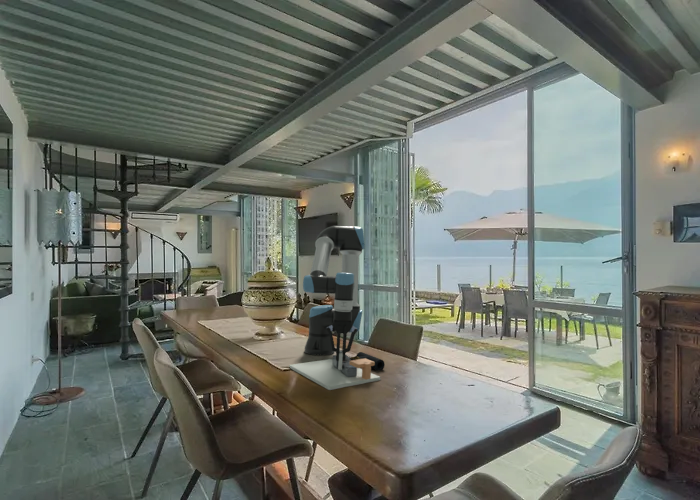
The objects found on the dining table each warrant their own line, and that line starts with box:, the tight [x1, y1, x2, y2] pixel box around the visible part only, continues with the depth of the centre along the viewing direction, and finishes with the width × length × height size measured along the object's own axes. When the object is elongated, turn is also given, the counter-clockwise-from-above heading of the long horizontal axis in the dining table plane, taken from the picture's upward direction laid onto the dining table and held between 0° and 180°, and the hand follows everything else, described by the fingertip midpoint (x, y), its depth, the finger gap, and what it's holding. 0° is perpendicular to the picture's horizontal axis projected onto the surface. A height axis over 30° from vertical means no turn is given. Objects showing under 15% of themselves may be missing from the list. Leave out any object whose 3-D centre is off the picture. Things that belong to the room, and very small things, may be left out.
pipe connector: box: [350, 351, 385, 372], centre depth 170 cm, size 12×5×15 cm
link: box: [332, 354, 357, 377], centre depth 158 cm, size 18×6×4 cm, turn 18°
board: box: [288, 358, 381, 391], centre depth 158 cm, size 24×32×1 cm
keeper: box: [349, 358, 375, 379], centre depth 151 cm, size 8×7×7 cm
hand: (340, 368), depth 155 cm, fingers closed
